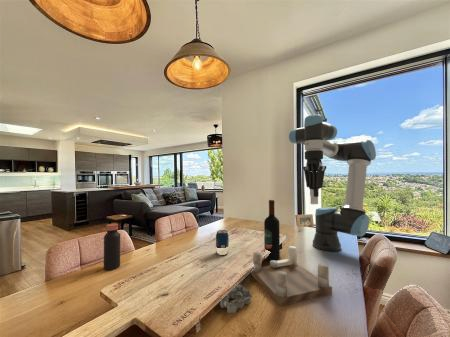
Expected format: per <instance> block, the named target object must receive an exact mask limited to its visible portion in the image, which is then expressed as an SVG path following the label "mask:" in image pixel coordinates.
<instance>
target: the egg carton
mask: <svg viewBox="0 0 450 337" xmlns="http://www.w3.org/2000/svg"><path fill="white" fill-rule="evenodd" d="M234 287H235V288H234V289H233V288H232V289H233V290H232V291H231V292H230V293H228V294H227V295H226V296H225V298H223V299H222V300H221V301H220V307H221V308H222V309H223V308H226V309H227V310H226V312H227V313H228V314H231V313H233V314H235V313H237V312H238V311H237V310H238V309H243V308H244V306H245V304H247V305H249V304H251V298H252V297H253V295H254V294H253V292H250V290H248V289H247V288H246V287H244V286H243V285H242V284H240V283H238V284H237V285H236V286H234ZM230 299H234V300H231V301H230ZM229 301H230V302H229Z"/></svg>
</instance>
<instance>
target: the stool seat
mask: <svg viewBox="0 0 450 337" xmlns="http://www.w3.org/2000/svg"><path fill="white" fill-rule="evenodd" d="M262 254H263V253H262V252H259V251H255V252H253V253H252V265H253V264H254V265H255V269H254V270H253V272H252V273H251V272H250V275H251V277H253V278H254V280H255V281H256V282H257V283H259V285H260V286H261V287H262V288H263V290H265V291H266V293H267V294H268V295H269V296H270V297H271V298H272V300H274V301H275V303H276V304H277V305H278V306H279V307H283V306H286V305H291V304H294V303H300V302H303V301H307V300H312V299H316V298H320V297H324V296H327V295H332V294H333V286H332V285H330V283H329V281H330V275H329V274H330V272H329V270H330V268H329V265H327V264H325V263H318V264H317V276H316V275H315V274H313V273H312V272H310V271H309V270H307V269H306V268H304V267H303V266H301V265H300V264H299V263H298V262H297V264H296V265H286V266H281V267H277V268H272V267H270V265H266V266H263V265H262V261H263V260H262V259H263V258H262V256H263V255H262Z"/></svg>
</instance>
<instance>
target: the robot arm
mask: <svg viewBox="0 0 450 337" xmlns="http://www.w3.org/2000/svg"><path fill="white" fill-rule="evenodd" d="M337 134H338V128H337V127H336V126H335V125H333V124H331V123H327V122H324V119H323V116H322V115H321V114H310V115H307V116H306V117H305V118H304V122H303V127H299V128H295V129H292V130H290V132H289V133H288V139H289V142H290V143H291V144H301V145H304V159H305V160H306V163H305V166H303V167H302V169H303V172H304V179H305V184H306V188H309V198H310V205H318V204H319V193H320V192H319V190H320V189H322V188H323V184H324V178H325V172H326V169H327V165H324V164H323V162H322V160H323V159H324V156H325V157H327V158H328V159H333V160H336V161H340V162H346V164H347V165H348V171H347V172H348V173H347V181H346V182H347V183H346V189H345V198H344V205H343V206H341V207H340V210H338V208H337V207H335V206H334V207H333V206H331V207H330V206H329V207H324V206H323V207H317V208H316V209H315V214H314V219H315V234H314V237H313V239H312V246H313V247H314V248H316V249H319V250H322V251H324V252H325V251H327V252H339V251H341V250H342V245H341V242H340V239H339V238H340V237H339V236H338V235H339V234H338V233H342V234H346V235H351V236H356V237H363V236H365V235H366V233H367V232H368V230H369V227H370V217H369V215H367V214H366V213H367V212H366V210H365V209H364V207H363V206H364V197H365V188H366V179H367V178H366V177H367V169H368V167H369V165H371V164H372V162H371V161H375V160H376V157H377V153H376V151H377V150H376V147H375V145H374V142H373V141H371V140H370V139H360V140H353V141H352V140H351V141H344V142H335V141H331V140H334V139H335V138H336V137H337Z"/></svg>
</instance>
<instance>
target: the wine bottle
mask: <svg viewBox="0 0 450 337" xmlns="http://www.w3.org/2000/svg"><path fill="white" fill-rule="evenodd" d="M263 224H264V227H263V228H264V229H263V230H264V233H263V234H264V236H263V237H264V241H263V242H264V243H263V244H264V248H265V249H266V250H268V251H270V252H271V253H270V254H269V256H268V257H267V258H266V259H265V258H264V260H265V261H266V262H269V263H270V261H271V260H275V261H278V260H281V259H280V258H281V256H280V255H281V253H280V252H281V250H280V246H281V244H280V237H281V236H280V233H281V232H280V220H279V218H277V216H275V200H274V199H269V200H268V216H267V217H266V218H265V219H264V222H263Z"/></svg>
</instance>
